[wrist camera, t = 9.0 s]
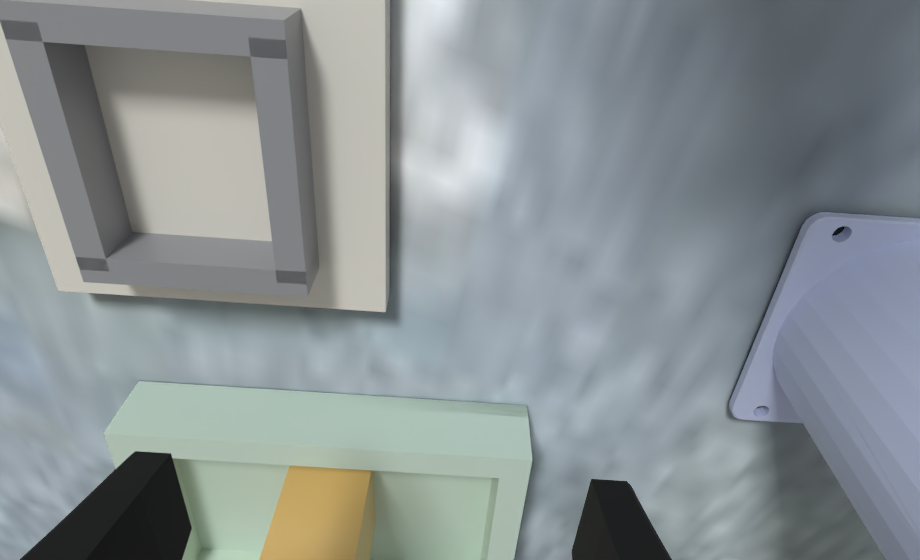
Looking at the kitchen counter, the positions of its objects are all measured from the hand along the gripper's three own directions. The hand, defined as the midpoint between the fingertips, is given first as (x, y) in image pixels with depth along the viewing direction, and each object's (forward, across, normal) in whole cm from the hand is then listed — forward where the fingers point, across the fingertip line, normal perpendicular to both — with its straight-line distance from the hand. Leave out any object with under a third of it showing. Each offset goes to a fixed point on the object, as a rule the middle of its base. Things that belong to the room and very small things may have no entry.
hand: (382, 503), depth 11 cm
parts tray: (+9, +3, +12) cm, 15 cm away
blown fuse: (+9, +3, +11) cm, 14 cm away
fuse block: (+9, +6, -3) cm, 12 cm away
